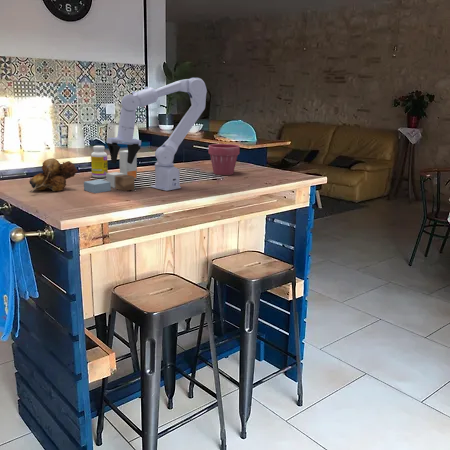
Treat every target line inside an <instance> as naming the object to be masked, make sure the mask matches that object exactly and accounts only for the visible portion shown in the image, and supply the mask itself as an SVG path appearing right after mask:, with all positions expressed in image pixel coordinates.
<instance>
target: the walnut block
mask: <svg viewBox="0 0 450 450" xmlns="http://www.w3.org/2000/svg"><path fill="white" fill-rule="evenodd" d="M115 182H116V188H115V189H116V190H117V189H118V190H117V191H121V190H122V192H128V191H133V190H135V179H134V177H133V176H129V175H121V176H115ZM132 189H133V190H132Z"/></svg>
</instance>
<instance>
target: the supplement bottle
mask: <svg viewBox="0 0 450 450" xmlns="http://www.w3.org/2000/svg"><path fill="white" fill-rule="evenodd" d="M105 147H106V146H104V145H94V146H92V150H93V152H91V154H90V161H91V176H92V177H93V178H102V179H103V178H106V173H109V172H108V171H109V170H108V168H109V167H108V154H107V152H105Z"/></svg>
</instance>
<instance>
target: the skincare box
mask: <svg viewBox="0 0 450 450" xmlns="http://www.w3.org/2000/svg"><path fill="white" fill-rule="evenodd" d="M137 154H138V153H137ZM137 154H136V156H135V158H134V160H133V163H132V164H130V163H127V159H128V149H127V150H125V149H124V150H119V152H118V155H119V173H123V174H125V175H129V176H133V177H134V180H137V179H138V178H137V177H138V175H137V173H138V172H137V171H138V167H137V166H138V165H137V163H138V162H137V161H138V159H137V158H138V156H137Z"/></svg>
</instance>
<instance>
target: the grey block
mask: <svg viewBox="0 0 450 450" xmlns="http://www.w3.org/2000/svg"><path fill="white" fill-rule="evenodd" d="M121 175H125V174H123V173H120V171H115V172H114V171H113V172H108V173H106V177H105V178H106V179H105V181H108V182H111V188H114V189H116V182H115V176H121Z"/></svg>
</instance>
